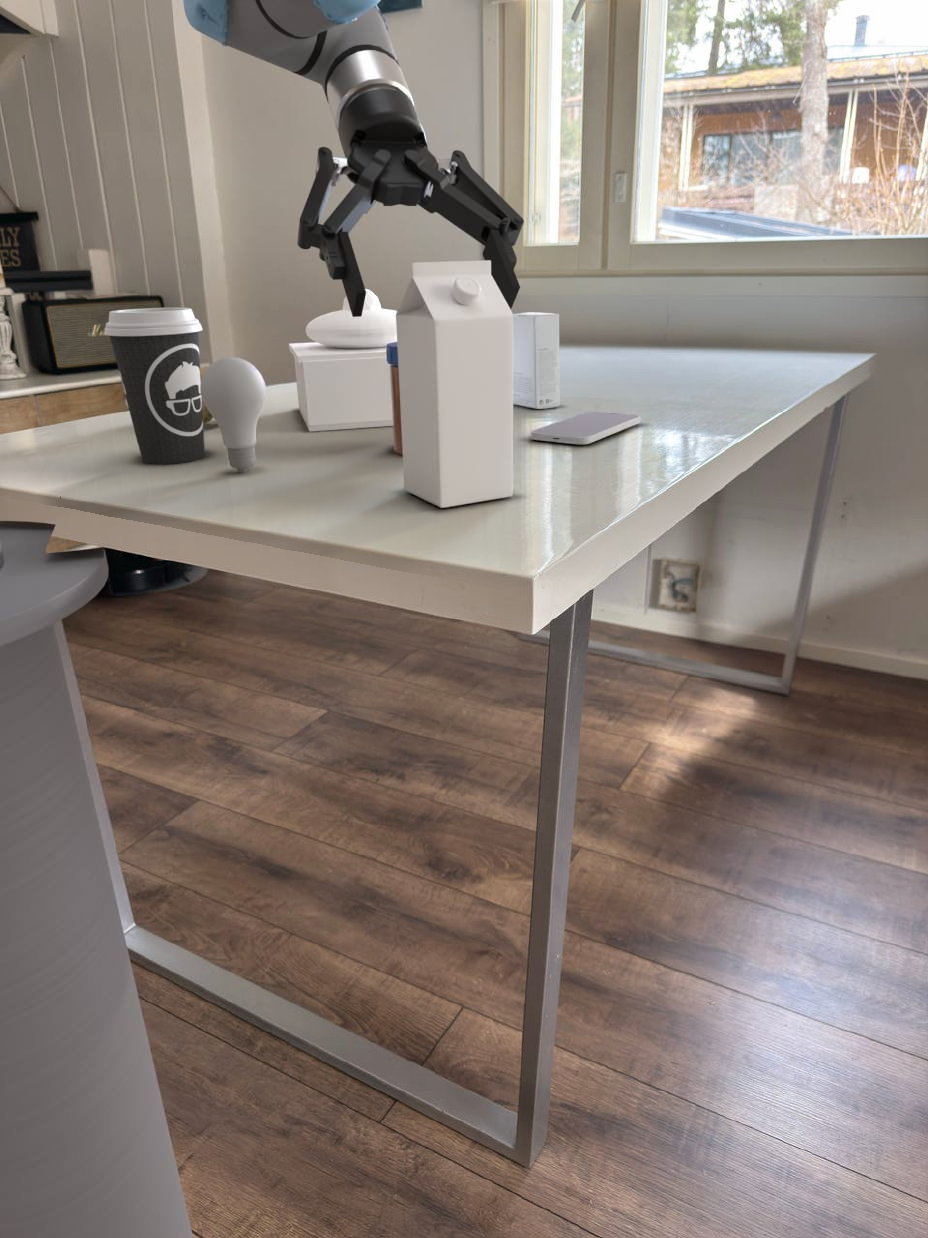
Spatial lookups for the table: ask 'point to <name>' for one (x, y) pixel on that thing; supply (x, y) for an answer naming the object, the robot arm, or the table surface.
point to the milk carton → (456, 384)
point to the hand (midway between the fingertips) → (438, 302)
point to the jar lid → (392, 353)
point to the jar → (396, 408)
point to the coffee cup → (161, 380)
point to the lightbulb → (235, 406)
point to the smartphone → (585, 427)
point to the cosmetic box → (536, 360)
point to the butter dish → (346, 368)
